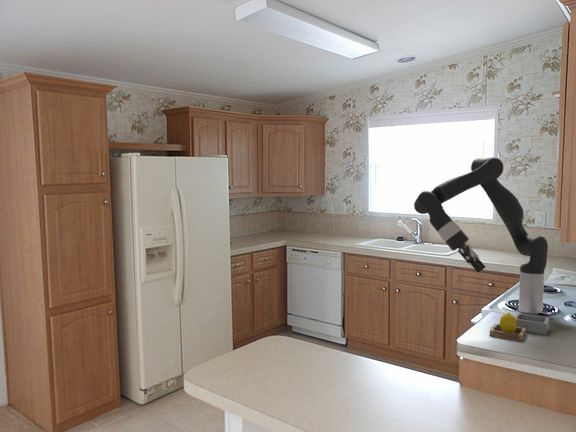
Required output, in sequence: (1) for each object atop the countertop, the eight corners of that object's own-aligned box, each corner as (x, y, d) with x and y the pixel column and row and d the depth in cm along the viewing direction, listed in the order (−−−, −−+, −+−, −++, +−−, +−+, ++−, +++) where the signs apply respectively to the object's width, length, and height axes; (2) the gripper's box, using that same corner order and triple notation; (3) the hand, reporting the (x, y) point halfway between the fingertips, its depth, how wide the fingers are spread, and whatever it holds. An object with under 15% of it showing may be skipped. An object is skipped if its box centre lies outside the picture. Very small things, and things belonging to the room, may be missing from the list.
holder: (516, 322, 180) (517, 312, 180) (548, 327, 174) (549, 317, 174) (512, 329, 171) (513, 318, 171) (546, 334, 165) (546, 323, 165)
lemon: (501, 331, 168) (502, 310, 168) (518, 334, 165) (518, 312, 164) (497, 335, 164) (498, 313, 163) (514, 338, 160) (515, 315, 160)
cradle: (494, 328, 171) (494, 323, 171) (525, 333, 166) (525, 328, 166) (489, 335, 163) (489, 330, 163) (522, 341, 157) (522, 335, 157)
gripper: (457, 229, 166) (488, 265, 161) (463, 229, 179) (492, 262, 174) (441, 242, 169) (470, 277, 164) (448, 241, 182) (476, 274, 176)
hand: (482, 270), depth 169 cm, fingers open, 8 cm apart
